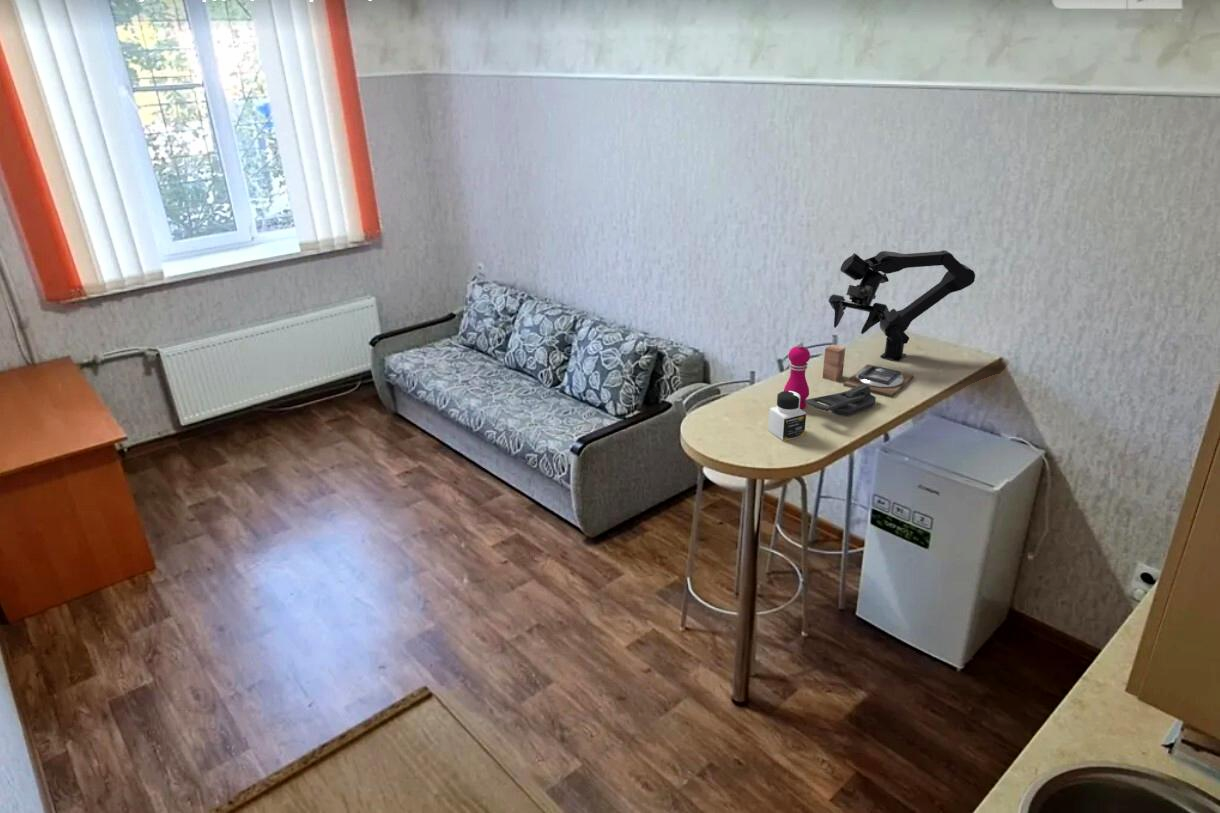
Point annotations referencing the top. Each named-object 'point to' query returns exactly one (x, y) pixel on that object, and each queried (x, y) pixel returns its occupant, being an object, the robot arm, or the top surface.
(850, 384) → the walnut board
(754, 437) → the top surface
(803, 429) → the medicine bottle
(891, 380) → the rosette plate
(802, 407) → the pepper mill
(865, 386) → the zipper pull
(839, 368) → the tan wooden block
